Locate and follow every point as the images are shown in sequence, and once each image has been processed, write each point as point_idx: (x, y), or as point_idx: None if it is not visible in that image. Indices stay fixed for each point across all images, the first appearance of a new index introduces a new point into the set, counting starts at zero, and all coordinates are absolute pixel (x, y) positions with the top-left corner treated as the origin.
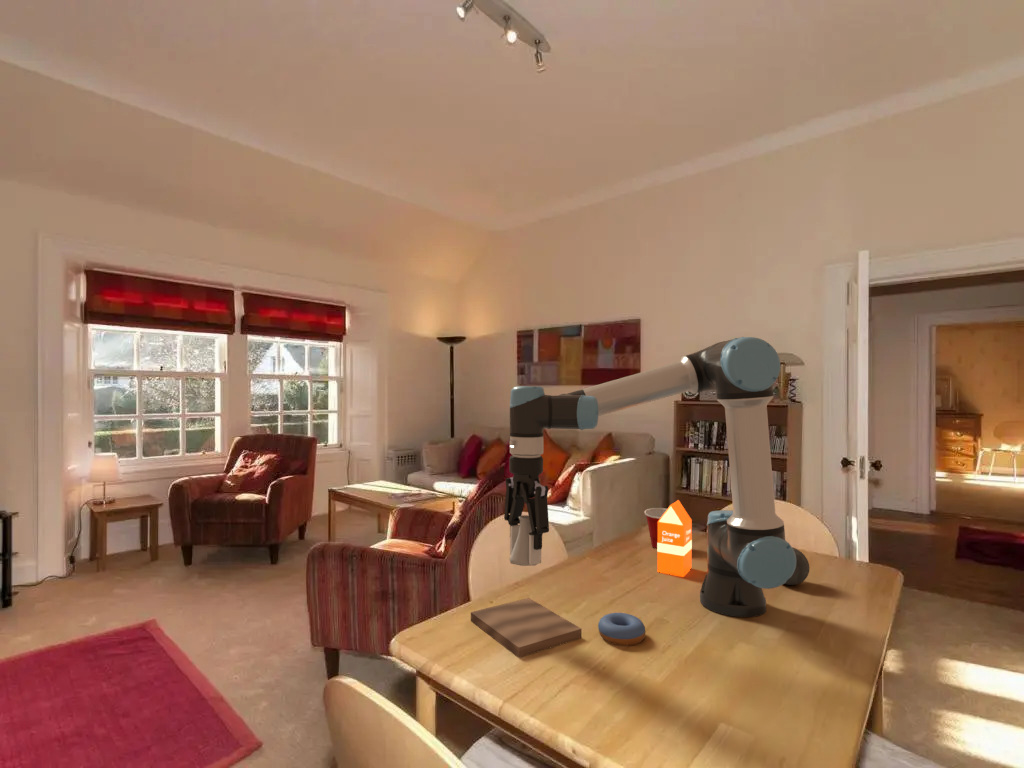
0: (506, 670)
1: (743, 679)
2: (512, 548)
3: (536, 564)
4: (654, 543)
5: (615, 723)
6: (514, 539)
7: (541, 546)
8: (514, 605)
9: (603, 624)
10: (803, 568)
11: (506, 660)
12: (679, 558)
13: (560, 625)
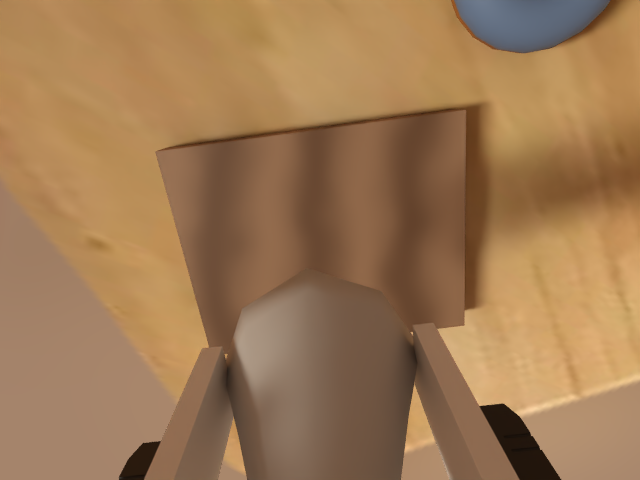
0: (486, 353)
1: None
2: (227, 433)
3: (412, 336)
4: None
5: None
6: (210, 475)
7: (522, 425)
8: (207, 227)
9: (528, 38)
10: None
11: (449, 338)
12: None
13: (410, 162)
